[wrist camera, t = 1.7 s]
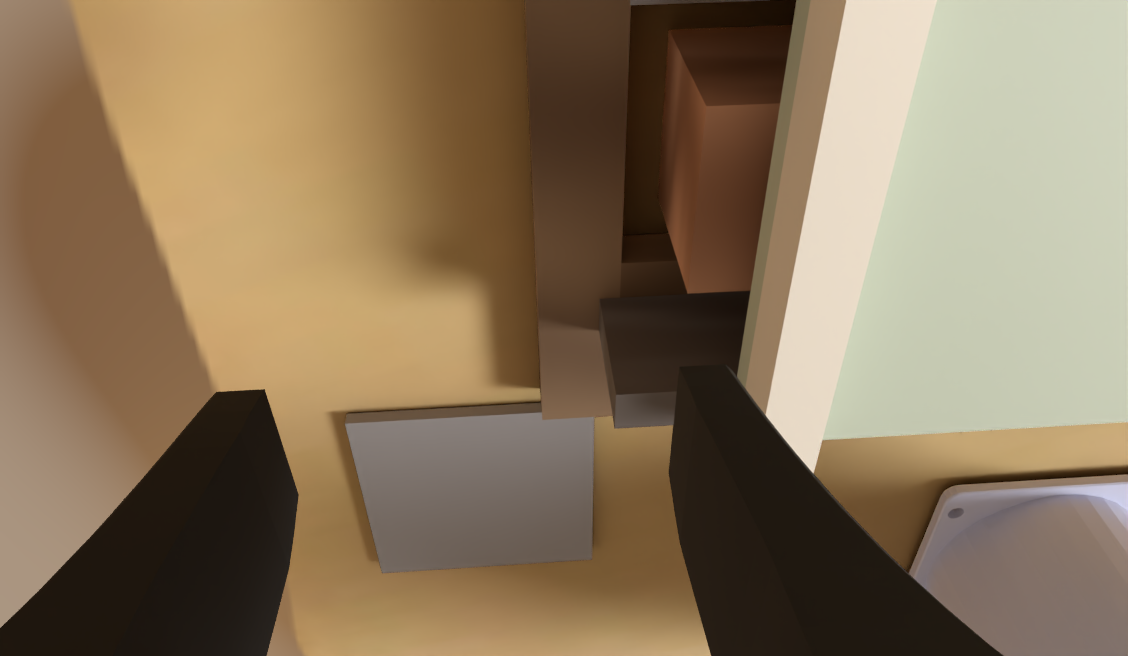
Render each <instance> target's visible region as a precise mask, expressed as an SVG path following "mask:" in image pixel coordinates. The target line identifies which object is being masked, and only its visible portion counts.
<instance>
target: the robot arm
mask: <svg viewBox="0 0 1128 656" xmlns="http://www.w3.org/2000/svg"><path fill="white" fill-rule="evenodd" d="M669 477H670V484H671V490H672V497H673V503H674V510H675V516H676V522H677V528H678V534H679V540H680V545H681V548H682V552H683V556H684V560H685V563H686V567H687V570H688V574H689V578H690V581H691V585H692V589H693V592H694V596H695V599H696V603H697V606H698V610H699V614H700V617H701V621H702V624H703V628H704V631H705V635H706V639H707V642H708V646H709V649H710V653H711V656H1128V474H1124V475H1108V476H1092V477H1076V478H1060V479H1044V480H1028V481H1012V482H996V483H980V484H964V485H955V486H952V487H950V488H948V489H946V490H945V491H944V492H943V493H942V495H941V497H940V499H939V501H938V504H937V506H936V509H935V511H934V513H933V516H932V518H931V521H930V523H929V526H928V528H927V530H926V533H925V535H924V538H923V540H922V542H921V545H920V547H919V550H918V552H917V555H916V557H915V559H914V562H913V564H912V567H911V569H910V572H909V573H908V572H907V571H905V570H904V569H903V568H902V567H901V566H900V565H899V564H898V563H897V562H896V561H895V560H894V559H893V558H892V557H891V556H890V555H889V554H888V553H887V552H886V551H885V550H884V549H883V548H882V547H881V546H880V545H879V544H878V543H877V542H876V541H875V540H874V539H873V538H872V537H871V536H870V535H869V534H868V533H867V532H866V531H865V530H864V529H863V528H862V527H861V525H860V524H859V523H858V522H857V521H856V520H855V519H854V518H853V517H852V516H851V515H850V514H849V513H848V512H847V511H846V510H845V509H844V508H843V506H842V505H841V504H840V503H839V502H838V501H837V500H836V499H835V498H834V497H833V495H832V494H831V493H830V492H829V491H828V490H827V489H826V488H825V486H824V485H823V484H822V483H821V482H820V481H819V479H818V478H817V477H816V476H815V475H814V474H813V472H812V471H811V470H810V469H809V468H808V467H807V466H806V464H805V463H804V462H803V461H802V460H801V459H800V457H799V456H798V455H797V454H796V453H795V451H794V450H793V449H792V448H791V447H790V445H789V444H788V443H787V442H786V441H785V439H784V438H783V437H782V436H781V434H780V433H779V432H778V430H777V429H776V428H775V427H774V425H773V424H772V423H771V422H770V420H769V419H768V418H767V417H766V415H765V414H764V413H763V411H762V410H761V409H760V407H759V406H758V405H757V403H756V402H755V401H754V399H753V398H752V397H751V395H750V394H749V393H748V391H747V390H746V389H745V387H744V386H743V385H742V383H741V382H740V380H739V379H738V378H737V376H736V375H735V374H734V372H733V371H732V370H731V369H730V368H729V367H728V366H727V365H726V364H719V365H701V366H682V367H679V374H678V384H677V394H676V404H675V414H674V424H673V435H672V445H671V455H670V465H669ZM297 503H298V492H297V489H296V485H295V482H294V479H293V476H292V473H291V470H290V467H289V464H288V461H287V458H286V454H285V451H284V448H283V445H282V442H281V439H280V436H279V433H278V430H277V427H276V423H275V420H274V417H273V414H272V411H271V408H270V405H269V402H268V399H267V396H266V392H265V389H263V390H245V391H227V392H216V393H215V394H214V395H213V396H212V397H211V398H210V400H209V401H208V402H207V403H206V404H205V405H204V407H203V408H202V409H201V410H200V411H199V412H198V413H197V415H196V416H195V417H194V418H193V419H192V421H191V422H190V423H189V424H188V425H187V426H186V428H185V429H184V430H183V431H182V432H181V434H180V435H179V436H178V437H177V438H176V440H175V441H174V442H173V443H172V444H171V446H170V447H169V448H168V449H167V451H166V452H165V453H164V454H163V455H162V456H161V457H160V459H159V460H158V461H157V462H156V463H155V465H154V466H153V467H152V468H151V469H150V470H149V472H148V473H147V474H146V475H145V476H144V478H143V479H142V480H141V481H140V482H139V483H138V484H137V485H136V487H135V488H134V489H133V490H132V491H131V492H130V493H129V495H128V496H127V497H126V498H125V499H124V500H123V501H122V502H121V504H120V505H119V506H118V507H117V508H116V509H115V510H114V511H113V513H112V514H111V515H110V516H109V517H108V518H107V519H106V521H105V522H104V523H103V524H102V525H101V526H100V527H99V528H98V529H97V530H96V532H95V533H94V534H93V535H92V536H91V537H90V538H89V539H88V540H87V541H86V542H85V543H84V544H83V545H82V546H81V547H80V548H79V550H78V551H77V552H76V553H75V554H74V555H73V556H72V557H71V558H70V559H69V560H68V561H67V562H66V563H65V564H64V565H63V566H62V567H61V569H59V570H58V571H57V572H56V573H55V574H54V576H52V578H51V579H50V580H49V581H48V582H47V583H46V584H45V585H44V586H43V587H42V588H41V589H40V590H39V591H38V592H37V593H36V594H35V595H34V596H33V597H32V598H31V599H30V600H29V601H28V602H27V603H26V604H25V605H24V606H23V607H22V608H21V609H20V610H19V611H18V612H17V613H16V614H15V615H13V616H12V617H11V618H10V619H9V620H8V621H7V622H6V623H5V624H4V625H3V626H2V627H1V628H0V656H266V655H267V652H268V648H269V644H270V640H271V636H272V633H273V629H274V625H275V621H276V617H277V613H278V609H279V605H280V602H281V598H282V594H283V590H284V586H285V582H286V578H287V574H288V570H289V565H290V558H291V551H292V544H293V537H294V529H295V520H296V512H297Z"/></svg>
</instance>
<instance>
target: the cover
mask: <svg viewBox="0 0 1128 656" xmlns="http://www.w3.org/2000/svg"><path fill="white" fill-rule="evenodd" d="M737 378H738V379H739V380H740V382H741V383H742V385H743V386H744V387H745V389H746V390H747V391H748V393H749V394H750V395H751V397H752V398H753V399H754V401H755V402H756V403H757V405H758V406H759V407H760V409H761V410H762V411H763V413H764V414H765V415H766V417H767V418H768V419H769V420H770V422H771V423H772V424H773V425H774V427H775V428H776V429H777V430H778V432H779V433H780V434H781V436H782V437H783V438H784V439H785V441H786V442H787V443H788V444H789V445H790V447H791V448H792V449H793V450H794V451H795V453H796V454H797V455H798V456H799V457H800V459H801V460H802V461H803V462H804V463H805V464H806V466H807V467H808V468H809V469H810V470H811V471H812V472H813V474H814V470H815V466H816V462H817V459H818V455H819V451H820V447H821V443H822V440H834V439H851V438H868V437H884V436H901V435H918V434H935V433H952V432H969V431H985V430H1002V429H1019V428H1036V427H1053V426H1070V425H1086V424H1103V423H1120V422H1128V0H796V7H795V13H794V19H793V26H792V32H791V38H790V45H789V51H788V57H787V64H786V70H785V76H784V83H783V89H782V95H781V102H780V108H779V114H778V121H777V127H776V133H775V139H774V146H773V152H772V158H771V165H770V171H769V177H768V184H767V190H766V196H765V203H764V209H763V215H762V222H761V228H760V234H759V241H758V247H757V253H756V260H755V266H754V272H753V279H752V285H751V291H750V298H749V304H748V310H747V316H746V323H745V329H744V335H743V342H742V348H741V354H740V361H739V367H738V373H737Z"/></svg>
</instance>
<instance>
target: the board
mask: <svg viewBox="0 0 1128 656" xmlns="http://www.w3.org/2000/svg"><path fill="white" fill-rule="evenodd" d="M739 1H768V0H524V3H525V28H526V52H527V77H528V102H529V126H530V151H531V175H532V200H533V224H534V249H535V273H536V298H537V322H538V347H539V371H540V393H541V408H542V420H551V419H568V418H586V417H603V416H613V421H614V427H615V428H633V427H650V426H667V425H673V424H674V414H675V404H676V394H677V384H678V374H679V367H682V366H701V365H719V364H726V365H727V366H728V367H729V368H730V369H731V370H732V371H733V372H734V374H735V375H736V376H737V373H738V367H739V361H740V354H741V348H742V342H743V335H744V329H745V323H746V316H747V310H748V304H749V298H750V291H751V290H749V291H729V292H708V293H687V290H686V287H685V283H684V280H683V277H682V274H681V271H680V267H679V264H678V261H677V258H676V255H675V251H674V248H673V245H672V242H671V238H670V235H669V234H649V235H628V236H622V232H623V205H624V178H625V151H626V125H627V98H628V71H629V44H630V17H631V5H652V4H681V3H710V2H739Z"/></svg>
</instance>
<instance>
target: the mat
mask: <svg viewBox="0 0 1128 656" xmlns="http://www.w3.org/2000/svg"><path fill="white" fill-rule="evenodd" d="M345 426H346V430H347V434H348V438H349V442H350V446H351V450H352V454H353V458H354V462H355V466H356V470H357V474H358V478H359V482H360V486H361V490H362V494H363V498H364V502H365V506H366V510H367V515H368V519H369V523H370V527H371V531H372V535H373V539H374V543H375V547H376V551H377V555H378V559H379V563H380V567H381V571H382V573H394V572H409V571H424V570H440V569H455V568H470V567H486V566H501V565H516V564H532V563H547V562H562V561H577V560H592V533H593V465H594V417H586V418H568V419H551V420H542V408H541V403H527V404H509V405H492V406H474V407H456V408H438V409H421V410H403V411H385V412H367V413H350V414H347V415H346V421H345Z"/></svg>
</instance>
